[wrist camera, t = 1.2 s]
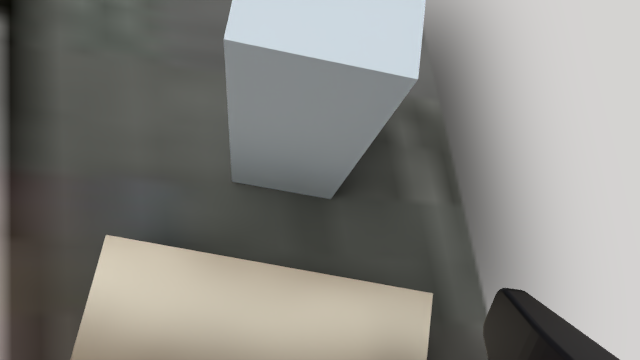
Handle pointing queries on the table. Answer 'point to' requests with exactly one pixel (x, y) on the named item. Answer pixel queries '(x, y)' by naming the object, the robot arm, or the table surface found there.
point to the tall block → (314, 86)
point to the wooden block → (241, 310)
